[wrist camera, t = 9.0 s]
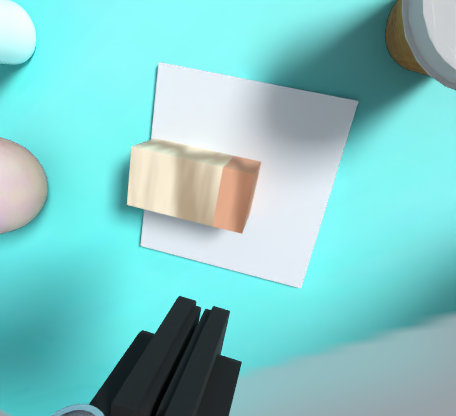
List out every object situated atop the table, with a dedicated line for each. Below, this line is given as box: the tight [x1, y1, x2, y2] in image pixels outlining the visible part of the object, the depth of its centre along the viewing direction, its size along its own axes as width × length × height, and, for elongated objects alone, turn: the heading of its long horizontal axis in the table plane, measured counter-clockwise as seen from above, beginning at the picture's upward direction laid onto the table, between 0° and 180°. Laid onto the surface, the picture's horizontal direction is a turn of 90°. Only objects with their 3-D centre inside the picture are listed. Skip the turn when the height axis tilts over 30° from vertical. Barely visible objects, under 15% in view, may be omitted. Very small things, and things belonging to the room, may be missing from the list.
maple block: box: [127, 138, 261, 234], centre depth 29 cm, size 5×5×10 cm
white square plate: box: [141, 62, 359, 288], centre depth 31 cm, size 17×18×1 cm
